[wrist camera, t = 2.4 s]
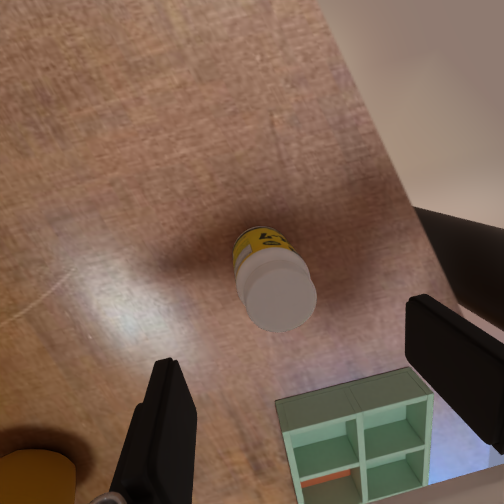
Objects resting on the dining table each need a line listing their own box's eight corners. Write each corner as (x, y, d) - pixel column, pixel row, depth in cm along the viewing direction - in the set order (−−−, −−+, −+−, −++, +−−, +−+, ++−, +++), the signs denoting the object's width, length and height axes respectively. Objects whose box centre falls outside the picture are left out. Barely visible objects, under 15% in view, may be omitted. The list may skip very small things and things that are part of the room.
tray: (409, 366, 29) (434, 393, 26) (407, 490, 37) (425, 523, 33) (274, 400, 28) (282, 432, 25) (301, 519, 36) (309, 555, 33)
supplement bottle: (298, 241, 22) (341, 286, 15) (269, 286, 24) (294, 351, 16) (249, 213, 21) (268, 247, 13) (221, 262, 22) (222, 320, 14)
